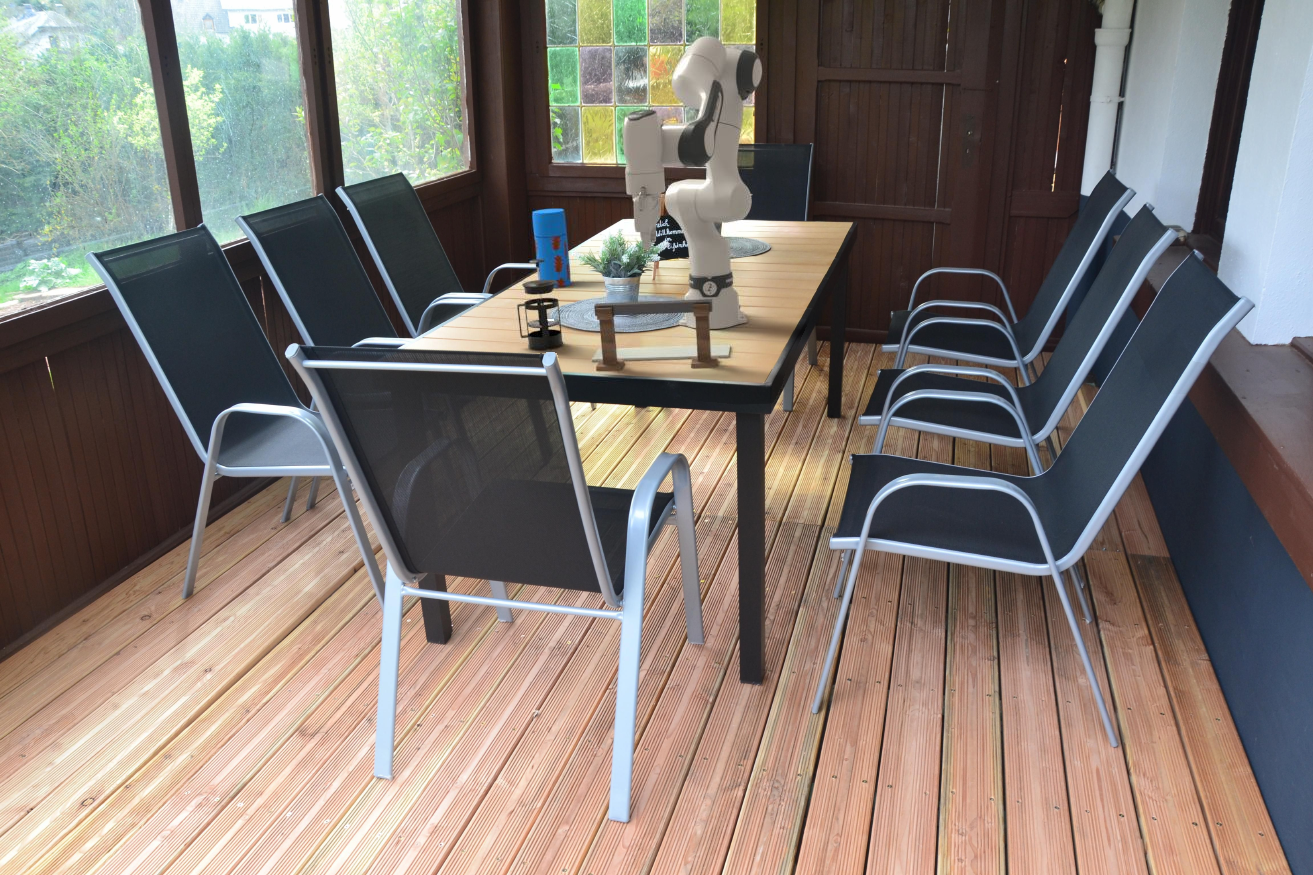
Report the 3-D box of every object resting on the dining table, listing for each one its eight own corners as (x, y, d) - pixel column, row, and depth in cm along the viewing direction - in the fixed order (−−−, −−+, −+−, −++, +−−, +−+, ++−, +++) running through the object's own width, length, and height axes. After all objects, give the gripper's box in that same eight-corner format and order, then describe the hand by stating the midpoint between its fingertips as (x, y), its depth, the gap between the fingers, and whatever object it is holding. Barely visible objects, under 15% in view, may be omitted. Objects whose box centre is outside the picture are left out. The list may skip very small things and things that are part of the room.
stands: (600, 363, 251) (595, 304, 246) (717, 360, 248) (715, 299, 243) (596, 370, 246) (591, 309, 241) (716, 367, 242) (713, 305, 237)
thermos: (537, 284, 352) (529, 211, 344) (567, 280, 355) (560, 207, 347) (543, 289, 342) (535, 214, 334) (574, 286, 345) (567, 211, 337)
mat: (598, 351, 263) (598, 348, 263) (730, 346, 259) (730, 344, 258) (591, 361, 254) (591, 359, 253) (728, 357, 249) (728, 355, 249)
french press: (564, 339, 277) (555, 254, 269) (567, 347, 268) (559, 260, 260) (520, 344, 275) (511, 259, 267) (523, 352, 266) (513, 265, 258)
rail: (596, 313, 245) (595, 303, 244) (712, 309, 242) (712, 299, 241) (595, 316, 243) (594, 305, 242) (712, 311, 239) (711, 301, 239)
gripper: (653, 190, 222) (657, 253, 227) (663, 179, 241) (667, 238, 246) (625, 191, 223) (629, 254, 228) (637, 181, 242) (641, 239, 247)
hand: (649, 246), depth 237 cm, fingers open, 8 cm apart
